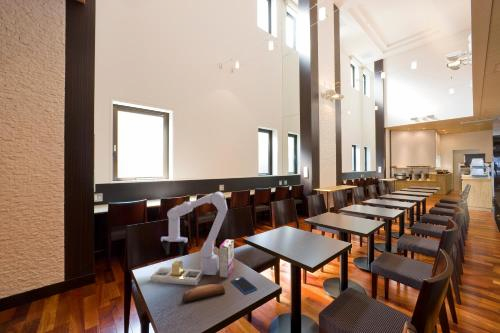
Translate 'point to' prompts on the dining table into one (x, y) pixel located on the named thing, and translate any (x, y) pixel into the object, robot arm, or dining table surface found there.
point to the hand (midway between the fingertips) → (174, 254)
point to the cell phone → (244, 285)
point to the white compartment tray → (176, 279)
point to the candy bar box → (226, 258)
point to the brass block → (177, 268)
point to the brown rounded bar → (203, 292)
